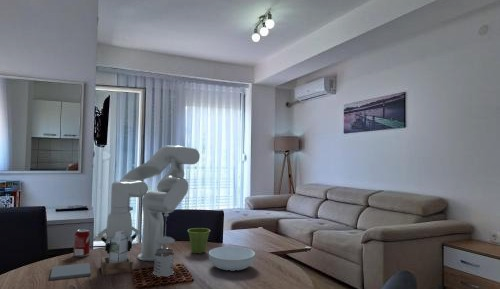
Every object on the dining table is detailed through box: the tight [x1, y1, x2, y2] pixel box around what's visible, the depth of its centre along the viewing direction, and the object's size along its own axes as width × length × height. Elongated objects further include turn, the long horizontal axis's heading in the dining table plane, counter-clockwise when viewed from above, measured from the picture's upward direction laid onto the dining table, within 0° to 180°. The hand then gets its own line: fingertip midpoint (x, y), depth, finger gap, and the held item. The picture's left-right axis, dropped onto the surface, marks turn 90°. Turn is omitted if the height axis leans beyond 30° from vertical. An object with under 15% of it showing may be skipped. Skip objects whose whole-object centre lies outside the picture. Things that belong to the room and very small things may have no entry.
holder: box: [100, 254, 134, 276], centre depth 142 cm, size 11×11×4 cm
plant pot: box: [187, 227, 211, 254], centre depth 173 cm, size 12×12×11 cm
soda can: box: [73, 228, 92, 258], centre depth 159 cm, size 7×7×12 cm
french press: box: [152, 213, 176, 276], centre depth 140 cm, size 10×12×25 cm
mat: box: [49, 262, 92, 281], centre depth 136 cm, size 14×14×1 cm
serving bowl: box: [208, 246, 256, 272], centre depth 150 cm, size 21×21×7 cm
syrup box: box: [108, 230, 129, 263], centre depth 143 cm, size 6×6×14 cm
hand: (118, 251), depth 143 cm, fingers closed on syrup box, 7 cm apart
